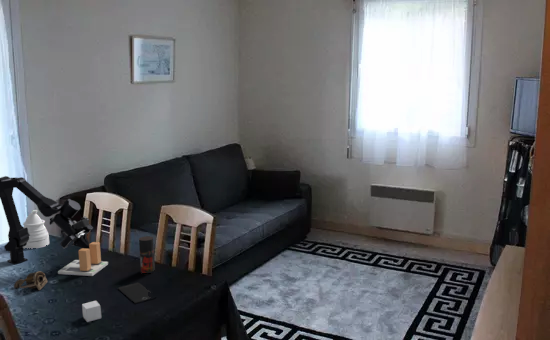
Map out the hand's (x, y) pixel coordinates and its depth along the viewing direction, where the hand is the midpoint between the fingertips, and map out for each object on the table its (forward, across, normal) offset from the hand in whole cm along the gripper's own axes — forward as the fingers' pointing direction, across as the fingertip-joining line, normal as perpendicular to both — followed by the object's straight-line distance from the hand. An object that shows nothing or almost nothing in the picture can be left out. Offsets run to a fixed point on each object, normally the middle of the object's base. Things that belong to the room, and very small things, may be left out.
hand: (90, 249), depth 241 cm
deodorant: (+25, -3, -14) cm, 29 cm away
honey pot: (-25, +23, +36) cm, 49 cm away
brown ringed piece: (-3, -26, +14) cm, 30 cm away
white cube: (+24, -47, -13) cm, 54 cm away
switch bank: (+4, -4, +6) cm, 9 cm away
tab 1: (+6, -8, +3) cm, 11 cm away
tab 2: (+6, 0, +3) cm, 6 cm away
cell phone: (+29, -25, -17) cm, 42 cm away
